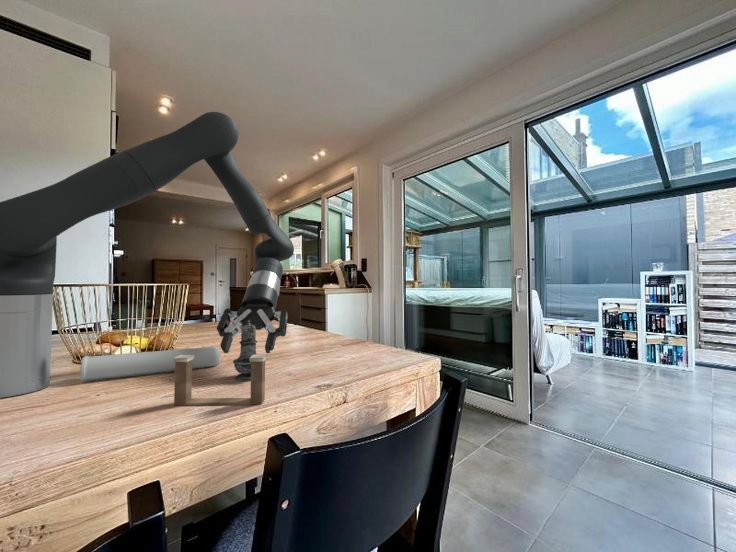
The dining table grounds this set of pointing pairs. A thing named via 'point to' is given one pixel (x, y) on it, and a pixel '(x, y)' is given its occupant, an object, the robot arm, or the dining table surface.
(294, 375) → the dining table surface
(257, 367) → the walnut gate
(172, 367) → the tube
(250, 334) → the salt shaker
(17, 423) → the dining table surface
